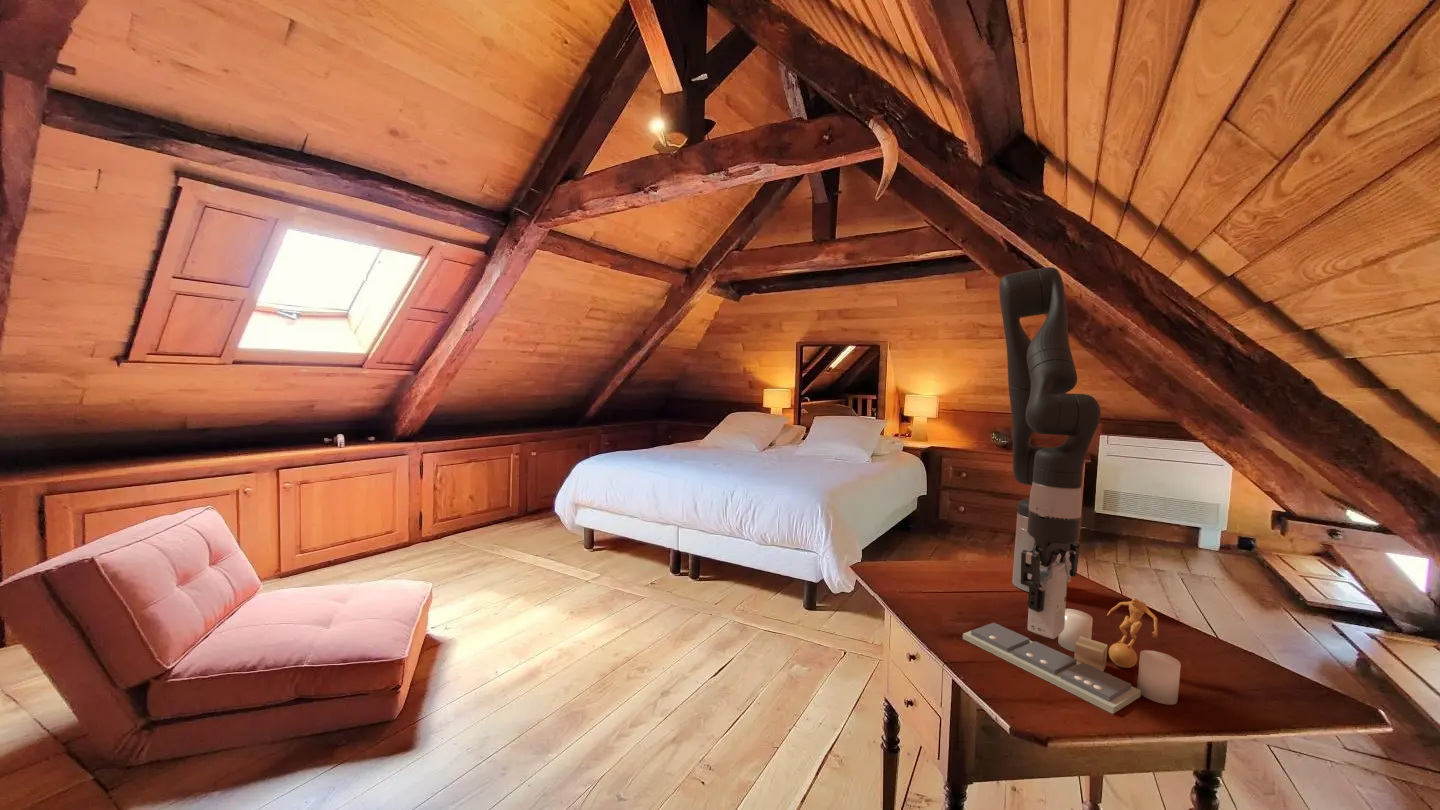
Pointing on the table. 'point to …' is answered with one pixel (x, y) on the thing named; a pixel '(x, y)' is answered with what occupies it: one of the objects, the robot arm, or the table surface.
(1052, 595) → the skincare box
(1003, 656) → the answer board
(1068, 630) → the white rounded cylinder
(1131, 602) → the figurine
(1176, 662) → the white pillar candle
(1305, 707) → the table surface
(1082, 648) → the beech block
